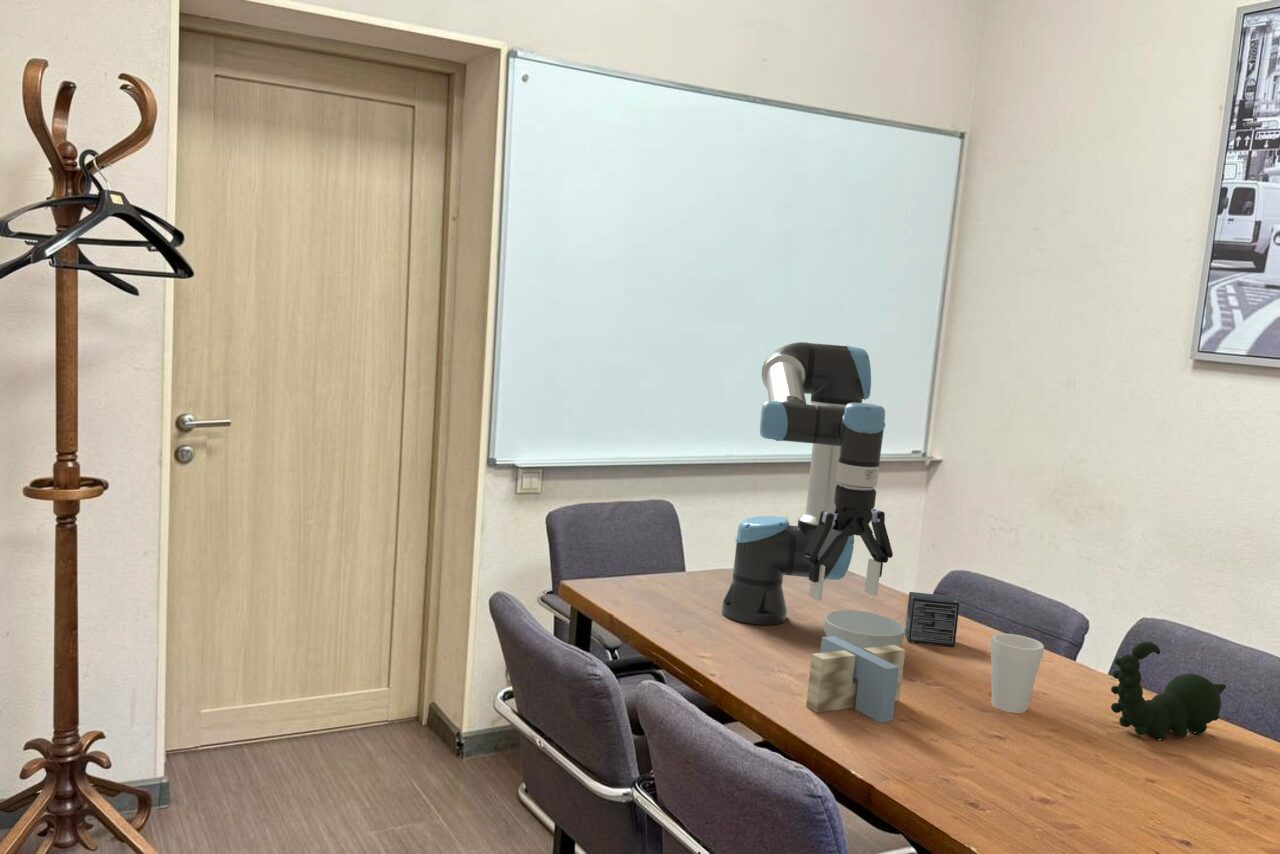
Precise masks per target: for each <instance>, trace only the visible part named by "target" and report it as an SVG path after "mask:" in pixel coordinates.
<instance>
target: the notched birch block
mask: <svg viewBox="0 0 1280 854" xmlns="http://www.w3.org/2000/svg"><path fill="white" fill-rule="evenodd" d="M863 650H864V651H866V652H868V653H870V654H873V655H875V656H877V657H879V658H881V659H883V660H885V661H887V662H889V663H891V664H893V665H895V666H897V667H899V672H898V680H897V688H896V696H895V702H900V697H901V690H902V689H901V688H902V682H903V681H902V680H903V673H904V665H905V657H906V649H904V648H903V647H901V646H900V647H898V646H896V645H889V646H880V647H870V648H863ZM855 657H856V656H855V655H853V654H851V653H849V652H847V651H845V650H843V651H834V652H825V653H820V652H816V653H811V660H810V670H809V679H808V689H807V696H806V703H805V704H806V705H805V706H806V708H808V709H810V710H811V711H813V712H815V713H818V714H819V713H825V712H832V711H839V710H845V709H851V708H855V704H856V695H857V687H858V680H857V679H855V678H853V674H854V665H855Z"/></svg>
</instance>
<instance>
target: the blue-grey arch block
mask: <svg viewBox="0 0 1280 854" xmlns="http://www.w3.org/2000/svg"><path fill="white" fill-rule="evenodd" d="M843 650H845V651H847V652H849V653H851V654H853V655H855V656H856V657H855V665H854V674H853V678H855V679H857V680H858V687H857V695H856V704H855V707H854V710H856V711H858V712H860V713H862V714H864V715H865V716H867V717H869V718H871V719H872V720H875V721H876V722H878V723H880V724H881V723H882V724H883V723H889V722H893V720H894V713H895V705H896V704H895V703H896V701H895V696H896V688H897V680H898V672H899V667H897V666H895V665H893V664H891V663H889V662H887V661H885V660H883V659H881V658H879V657H877V656H875V655H873V654H870V653H868V652H866V651H864V650H862V649H860V648H858V647H856V646H854V645H852V644H850V643H848V642H846V641H844V640H841V639H839V638H837V637H835V636H828V637H826V636H822V637H821V643H820V652H819V653H825V652H834V651H843Z"/></svg>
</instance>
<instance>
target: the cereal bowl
mask: <svg viewBox="0 0 1280 854" xmlns="http://www.w3.org/2000/svg"><path fill="white" fill-rule="evenodd" d="M823 621H824V622H823V628H824V629H823V630H824V631H823V632H824V633H825V634H824V635H825V637H828V636H835V637H837V638H839V639H841V640H844V641H846V642H848V643H850V644H852V645H854V646H856V647H858V648H860V649H862V650H863V648H870V647H880V646H889V645H896V646H898V647H900V648H901V645H902V644H903V641H904V639H905V638H904V637H905V627H904V625H902V623H900V622H898V621H897V620H895V619H893V618H890V617H887V616H885V615H882V614H881V615H880V614H878V613H872V612H869V611H863V610H862V611H860V610H850V609H849V610H847V609H846V610H843V609H842V610H835V611H834V610H833V611H831V612H828V613H827V614H825V616H824V620H823Z"/></svg>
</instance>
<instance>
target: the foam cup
mask: <svg viewBox="0 0 1280 854" xmlns="http://www.w3.org/2000/svg"><path fill="white" fill-rule="evenodd" d="M989 646H990V648H989V649H990V652H991V653H990V655H991V657H990V659H991V663H990V664H991V671H990V672H991V674H990V676H991V679H990V680H991V705H992V706H993V707H994V708H995V707H996V708H995V709H997V708H998V709H997V710H999V709H1001V710H1000V711H1002V710H1003V712H1005V711H1008V712H1007V713H1010V712H1012V713H1011V714H1023V713H1022V712H1024V713H1026V712H1027V711H1028V710H1027V709H1028V707H1029V704H1030V703H1029V702H1030V700H1031V696H1032V692H1033V689H1034V685H1035V682H1036V679H1037V674H1038V671H1039V667H1040V665H1041V662H1042V659H1043V656H1044V649H1045V645H1044V644H1043V642H1041V641H1039V640H1036V639H1035V638H1032V637H1028V636H1024V635H1019V634H1013V633H996V634H995V633H994V634H993V635H992V636H991V640H990V645H989ZM1025 711H1026V712H1025Z"/></svg>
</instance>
